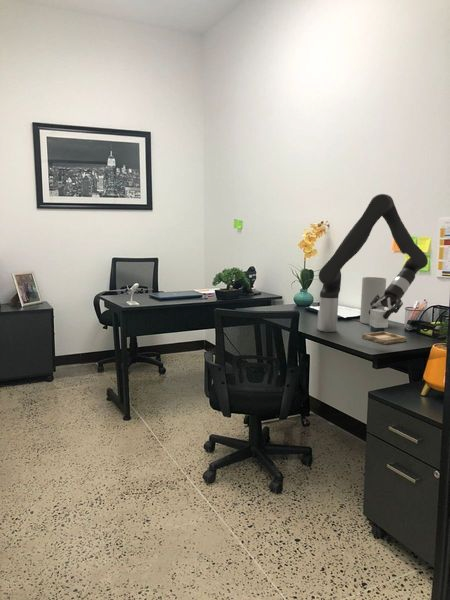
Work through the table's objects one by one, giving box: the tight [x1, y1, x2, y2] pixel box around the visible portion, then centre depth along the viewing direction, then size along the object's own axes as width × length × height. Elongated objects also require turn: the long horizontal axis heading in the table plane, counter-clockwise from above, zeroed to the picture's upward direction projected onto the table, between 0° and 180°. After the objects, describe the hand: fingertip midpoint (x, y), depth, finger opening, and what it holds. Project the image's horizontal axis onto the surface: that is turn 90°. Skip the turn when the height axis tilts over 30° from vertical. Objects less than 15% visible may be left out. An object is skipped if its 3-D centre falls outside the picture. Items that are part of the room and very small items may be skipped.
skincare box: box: [368, 308, 390, 329], centre depth 213 cm, size 6×6×7 cm
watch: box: [370, 325, 385, 333], centre depth 245 cm, size 6×8×11 cm
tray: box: [361, 330, 407, 345], centre depth 228 cm, size 14×14×2 cm
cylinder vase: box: [359, 276, 387, 325], centre depth 267 cm, size 12×12×25 cm
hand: (377, 316), depth 212 cm, fingers closed on skincare box, 7 cm apart
